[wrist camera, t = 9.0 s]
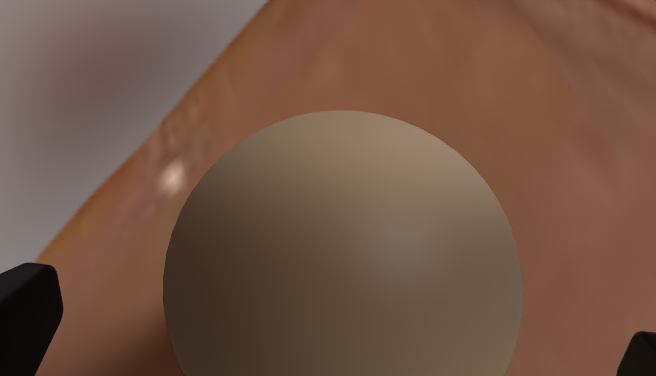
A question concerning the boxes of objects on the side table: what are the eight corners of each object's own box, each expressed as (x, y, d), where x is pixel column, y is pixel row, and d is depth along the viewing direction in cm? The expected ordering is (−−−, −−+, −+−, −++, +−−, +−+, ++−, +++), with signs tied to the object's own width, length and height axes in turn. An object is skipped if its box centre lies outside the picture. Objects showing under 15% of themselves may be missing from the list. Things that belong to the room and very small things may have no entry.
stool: (415, 421, 20) (524, 496, 9) (230, 400, 20) (126, 448, 9) (425, 239, 22) (523, 128, 11) (258, 221, 22) (199, 94, 11)
